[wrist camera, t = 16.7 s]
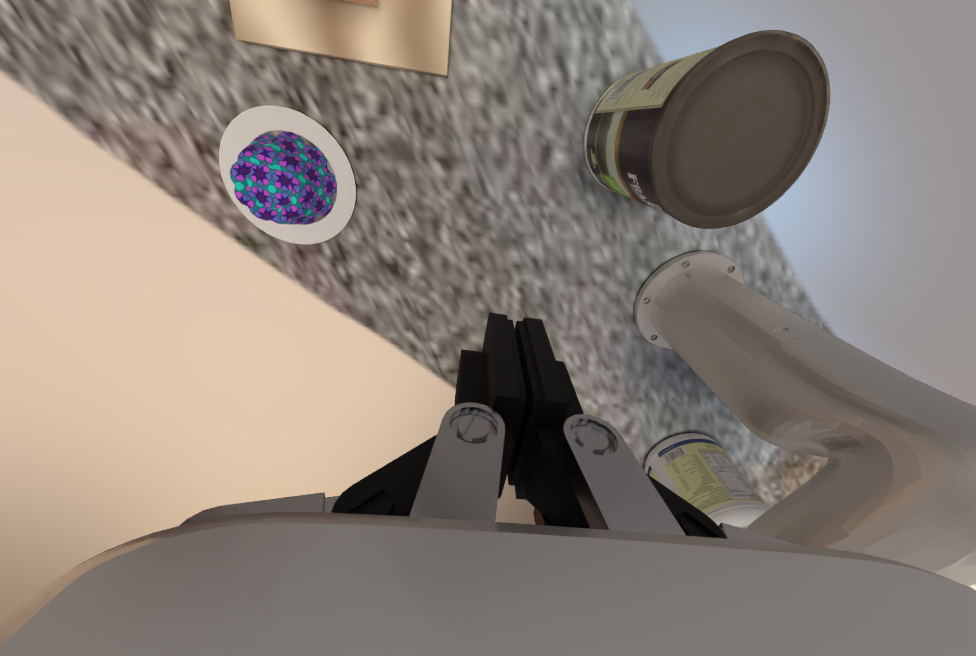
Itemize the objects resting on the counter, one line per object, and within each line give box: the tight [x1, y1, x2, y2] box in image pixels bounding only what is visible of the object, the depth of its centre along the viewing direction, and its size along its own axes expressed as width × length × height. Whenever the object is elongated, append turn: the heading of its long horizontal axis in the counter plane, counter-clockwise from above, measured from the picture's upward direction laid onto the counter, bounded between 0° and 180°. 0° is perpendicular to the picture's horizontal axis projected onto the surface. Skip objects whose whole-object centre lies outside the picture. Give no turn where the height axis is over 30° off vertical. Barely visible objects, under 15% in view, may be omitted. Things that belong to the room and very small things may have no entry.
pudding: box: [219, 106, 356, 244], centre depth 31 cm, size 12×12×5 cm
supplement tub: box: [645, 433, 770, 529], centre depth 49 cm, size 12×12×17 cm
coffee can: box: [584, 30, 830, 229], centre depth 27 cm, size 10×10×14 cm
